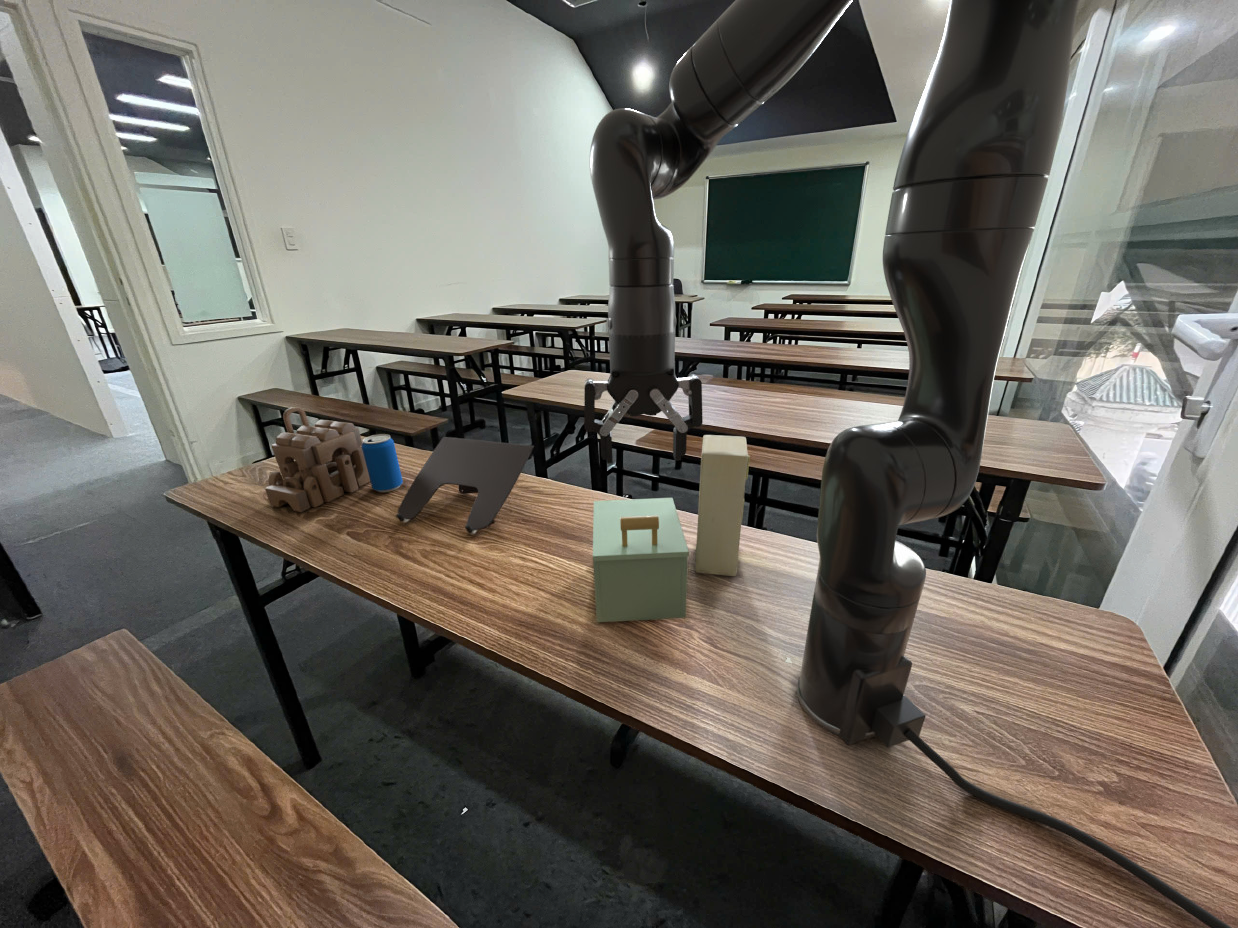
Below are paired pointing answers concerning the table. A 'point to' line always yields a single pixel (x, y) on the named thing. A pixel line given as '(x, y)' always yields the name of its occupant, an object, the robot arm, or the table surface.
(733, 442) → the toy refrigerator
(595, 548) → the lid
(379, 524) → the table surface
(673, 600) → the chest
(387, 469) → the beverage can
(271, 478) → the wooden puzzle
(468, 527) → the laptop tray
